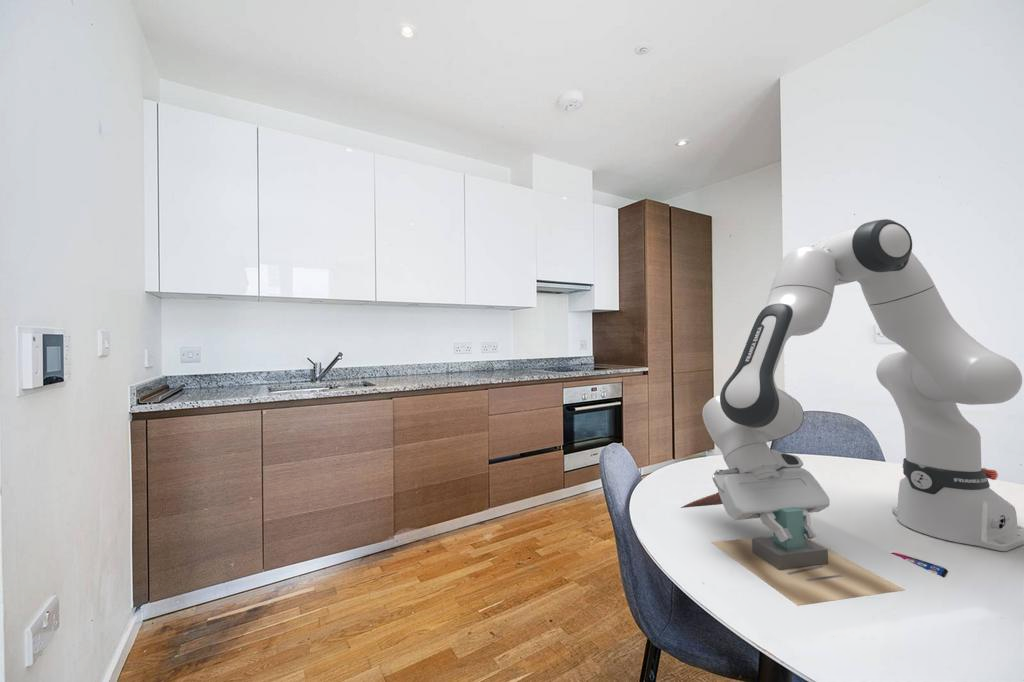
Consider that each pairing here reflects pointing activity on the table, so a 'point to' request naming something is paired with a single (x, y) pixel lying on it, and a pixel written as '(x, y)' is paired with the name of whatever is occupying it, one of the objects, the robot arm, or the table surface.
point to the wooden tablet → (706, 501)
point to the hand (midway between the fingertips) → (799, 539)
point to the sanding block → (790, 544)
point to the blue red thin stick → (924, 565)
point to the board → (810, 576)
